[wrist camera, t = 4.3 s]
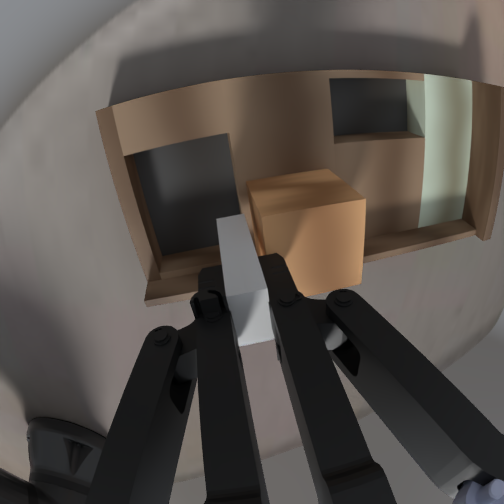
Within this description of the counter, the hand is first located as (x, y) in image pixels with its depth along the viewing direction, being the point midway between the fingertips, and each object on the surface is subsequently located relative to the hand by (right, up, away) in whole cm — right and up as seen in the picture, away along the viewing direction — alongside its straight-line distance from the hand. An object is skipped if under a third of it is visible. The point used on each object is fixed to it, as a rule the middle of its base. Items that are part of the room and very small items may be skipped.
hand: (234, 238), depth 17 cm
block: (+3, +2, +2) cm, 4 cm away
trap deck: (+6, +6, +3) cm, 9 cm away
